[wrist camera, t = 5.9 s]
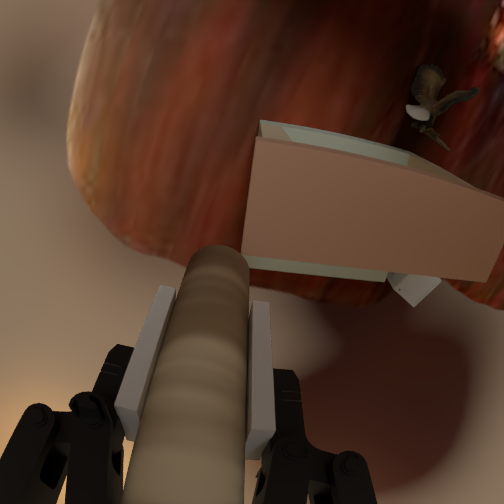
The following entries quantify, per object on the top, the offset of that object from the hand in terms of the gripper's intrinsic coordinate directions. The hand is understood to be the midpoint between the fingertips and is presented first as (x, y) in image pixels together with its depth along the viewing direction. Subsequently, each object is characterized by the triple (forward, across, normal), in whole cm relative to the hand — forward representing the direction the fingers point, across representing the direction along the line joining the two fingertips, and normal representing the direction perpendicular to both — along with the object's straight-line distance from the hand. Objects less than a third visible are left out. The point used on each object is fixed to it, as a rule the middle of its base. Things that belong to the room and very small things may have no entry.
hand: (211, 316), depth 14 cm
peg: (+4, 0, 0) cm, 4 cm away
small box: (+23, +25, -7) cm, 35 cm away
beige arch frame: (+19, +10, +5) cm, 22 cm away
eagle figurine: (+23, +20, +15) cm, 34 cm away
